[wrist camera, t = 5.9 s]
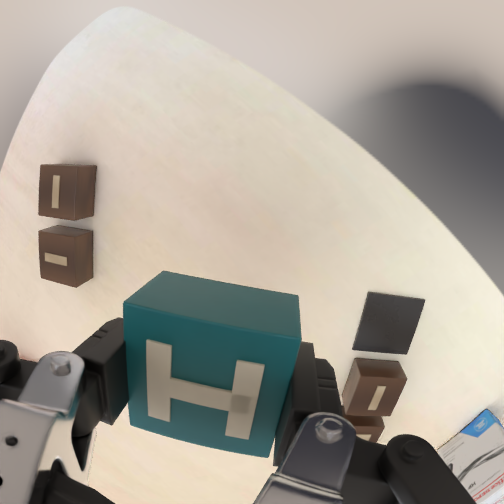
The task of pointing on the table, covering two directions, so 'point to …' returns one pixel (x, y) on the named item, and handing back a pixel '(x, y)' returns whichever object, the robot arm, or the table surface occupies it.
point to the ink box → (478, 458)
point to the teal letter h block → (210, 361)
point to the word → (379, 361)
